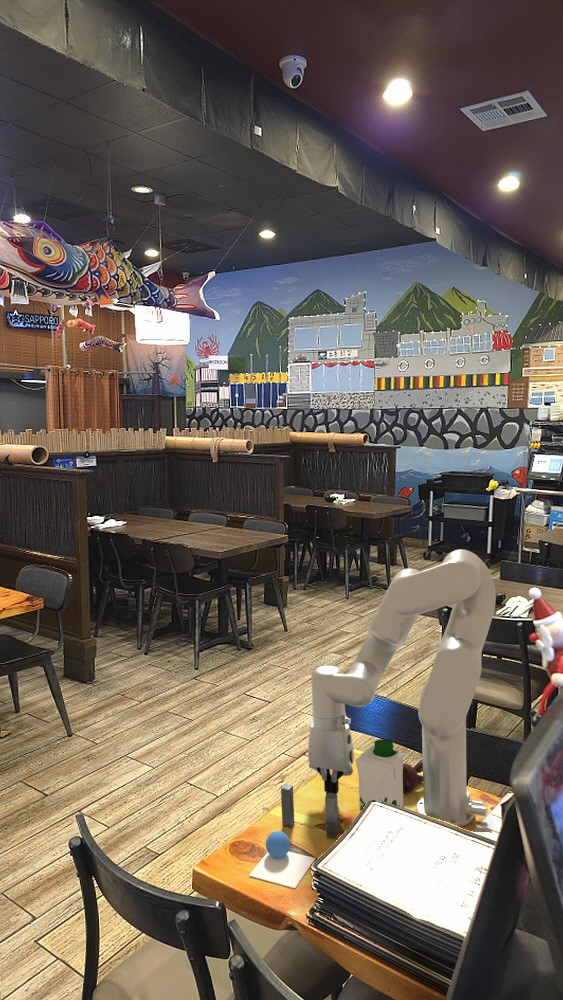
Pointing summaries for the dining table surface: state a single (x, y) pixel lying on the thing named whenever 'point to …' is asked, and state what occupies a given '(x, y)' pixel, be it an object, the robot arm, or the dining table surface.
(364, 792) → the milk carton
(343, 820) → the dining table surface
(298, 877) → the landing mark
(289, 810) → the left post
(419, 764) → the icecream
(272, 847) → the ball
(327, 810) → the right post
